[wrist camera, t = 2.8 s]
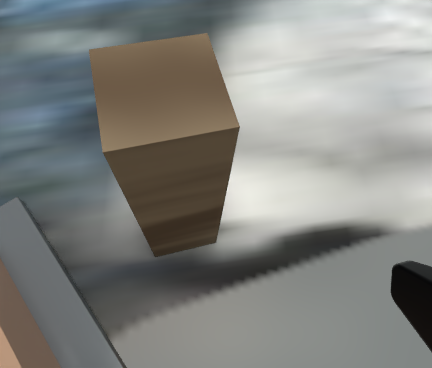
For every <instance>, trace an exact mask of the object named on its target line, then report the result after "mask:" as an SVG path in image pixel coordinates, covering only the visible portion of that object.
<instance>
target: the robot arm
mask: <svg viewBox="0 0 432 368" xmlns="http://www.w3.org/2000/svg"><path fill="white" fill-rule="evenodd" d="M391 295H392V298H393V300H394V302H395V303H396V304H397V306H398V307H399V308H400V310H401V311H402V313H403V314H404V315H405V317H406V318H407V319H408V321H409V322H410V323H411V325H412V326H413V327H414V329H415V330H416V332H417V333H418V334H419V336H420V337H421V338H422V340H423V341H424V342H425V343H426V345H427V346H428V348H429V349H430V350H431V352H432V267H431V266H427V265H424V264H420V263H417V262H414V261H405V262H401V263H398V264H395V265H394V266H393V268H392V279H391Z"/></svg>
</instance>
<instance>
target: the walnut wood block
mask: <svg viewBox="0 0 432 368" xmlns="http://www.w3.org/2000/svg"><path fill="white" fill-rule="evenodd" d="M89 54H90V61H91V68H92V76H93V83H94V91H95V98H96V105H97V113H98V120H99V128H100V135H101V142H102V150H103V154H104V156H105V158H106V160H107V162H108V164H109V166H110V168H111V170H112V172H113V174H114V176H115V178H116V180H117V182H118V184H119V186H120V188H121V190H122V192H123V194H124V196H125V198H126V200H127V202H128V204H129V206H130V208H131V210H132V212H133V214H134V216H135V218H136V220H137V222H138V224H139V226H140V228H141V230H142V232H143V234H144V236H145V238H146V240H147V242H148V244H149V246H150V248H151V250H152V252H153V254H154V256H155V257H158V256H162V255H166V254H170V253H174V252H179V251H183V250H187V249H191V248H195V247H199V246H203V245H208V244H212V243H216V240H217V235H218V230H219V225H220V220H221V215H222V211H223V206H224V201H225V196H226V191H227V186H228V181H229V176H230V172H231V167H232V162H233V157H234V152H235V147H236V142H237V137H238V132H239V128H240V126H239V123H238V120H237V118H236V115H235V112H234V109H233V106H232V103H231V100H230V97H229V95H228V92H227V89H226V86H225V83H224V80H223V77H222V74H221V71H220V69H219V66H218V63H217V60H216V57H215V54H214V51H213V48H212V45H211V43H210V40H209V37H208V34H207V33H206V34H198V35H191V36H184V37H177V38H170V39H162V40H155V41H148V42H141V43H133V44H126V45H119V46H112V47H105V48H97V49H90V50H89Z"/></svg>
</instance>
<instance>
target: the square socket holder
mask: <svg viewBox="0 0 432 368" xmlns="http://www.w3.org/2000/svg"><path fill="white" fill-rule="evenodd" d="M0 368H127V367H126V366H125V364H124V363H123V361H122V359H121V358H120V356H119V355H118V353H117V352H116V350H115V348H114V347H113V345H112V343H111V342H110V340H109V339H108V337H107V335H106V334H105V332H104V330H103V329H102V327H101V326H100V324H99V322H98V321H97V319H96V318H95V316H94V314H93V313H92V311H91V310H90V308H89V306H88V305H87V303H86V302H85V300H84V298H83V297H82V295H81V294H80V292H79V290H78V289H77V287H76V286H75V284H74V282H73V281H72V279H71V277H70V276H69V274H68V273H67V271H66V269H65V268H64V266H63V265H62V263H61V261H60V260H59V258H58V257H57V255H56V253H55V252H54V250H53V249H52V247H51V245H50V244H49V242H48V241H47V239H46V237H45V236H44V234H43V233H42V231H41V229H40V228H39V226H38V224H37V223H36V221H35V220H34V218H33V216H32V215H31V213H30V212H29V210H28V208H27V207H26V205H25V204H24V202H23V201H22V200H21V199H19V198H18V197H16V198H14V199H13V200H11V201H9V202H7V203H6V204H4V205H2V206H1V207H0Z"/></svg>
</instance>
